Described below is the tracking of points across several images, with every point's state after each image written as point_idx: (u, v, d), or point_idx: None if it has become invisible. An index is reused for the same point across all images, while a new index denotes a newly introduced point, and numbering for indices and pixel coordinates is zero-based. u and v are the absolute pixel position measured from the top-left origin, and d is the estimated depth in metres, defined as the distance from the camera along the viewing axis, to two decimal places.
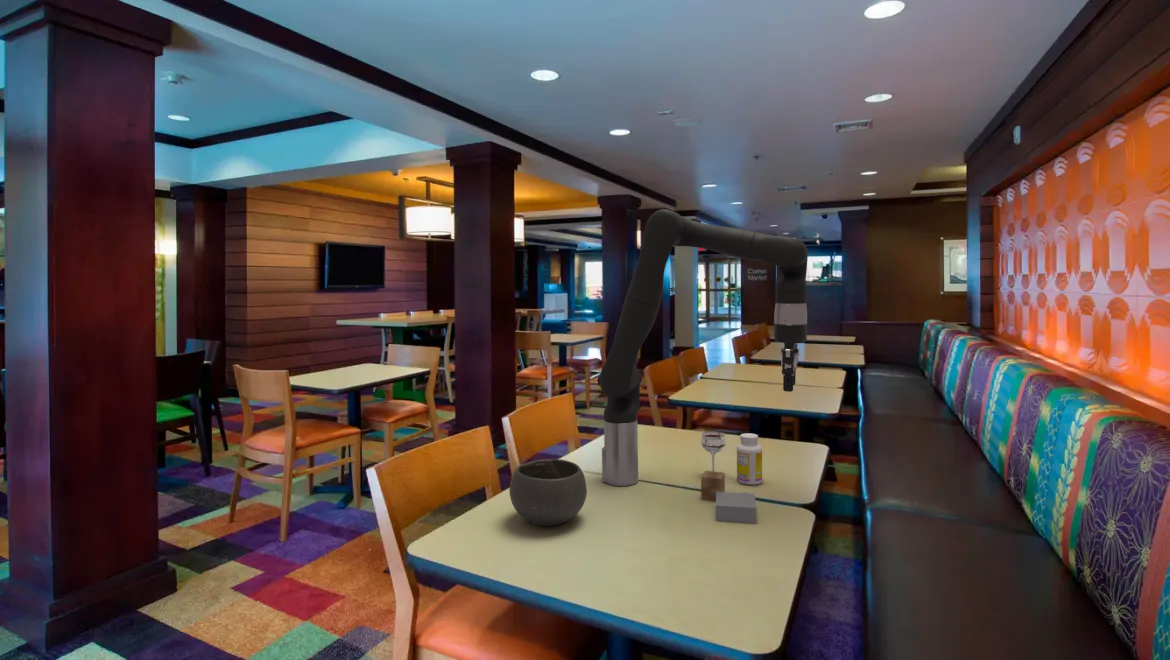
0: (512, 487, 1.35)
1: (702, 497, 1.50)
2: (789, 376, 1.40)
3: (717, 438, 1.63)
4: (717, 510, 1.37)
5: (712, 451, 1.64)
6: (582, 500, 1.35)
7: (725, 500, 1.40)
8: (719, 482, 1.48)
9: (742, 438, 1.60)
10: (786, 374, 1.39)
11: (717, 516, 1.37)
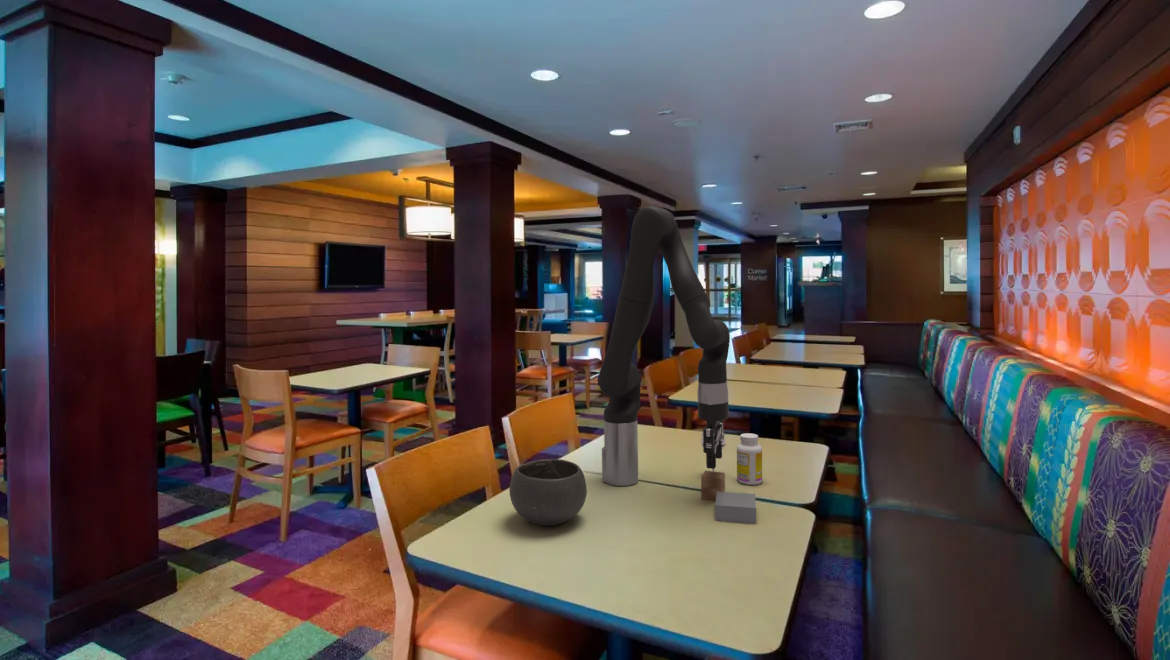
0: (512, 487, 1.35)
1: (702, 497, 1.50)
2: (711, 454, 1.45)
3: None
4: (716, 510, 1.37)
5: None
6: (582, 500, 1.35)
7: (725, 500, 1.40)
8: (719, 482, 1.48)
9: (742, 438, 1.60)
10: (708, 453, 1.44)
11: (716, 516, 1.37)
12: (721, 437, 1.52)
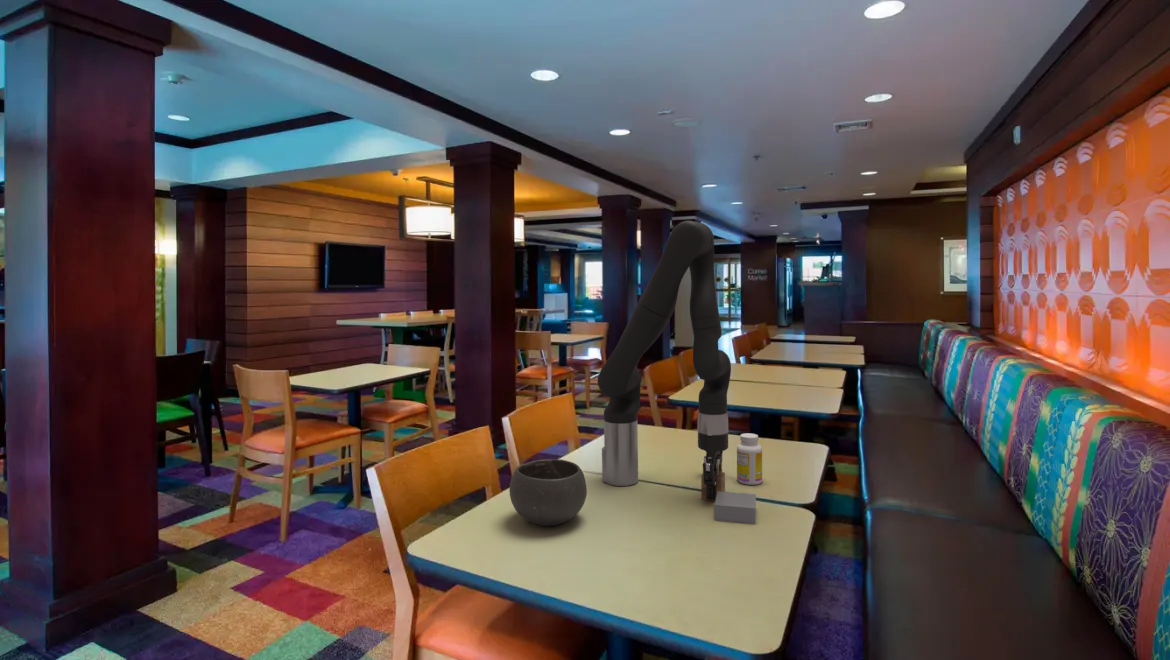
0: (512, 487, 1.35)
1: (702, 497, 1.50)
2: (711, 486, 1.47)
3: None
4: (716, 509, 1.37)
5: None
6: (582, 500, 1.35)
7: (725, 500, 1.40)
8: (719, 482, 1.48)
9: (742, 438, 1.60)
10: (708, 484, 1.47)
11: (716, 515, 1.37)
12: (720, 469, 1.52)
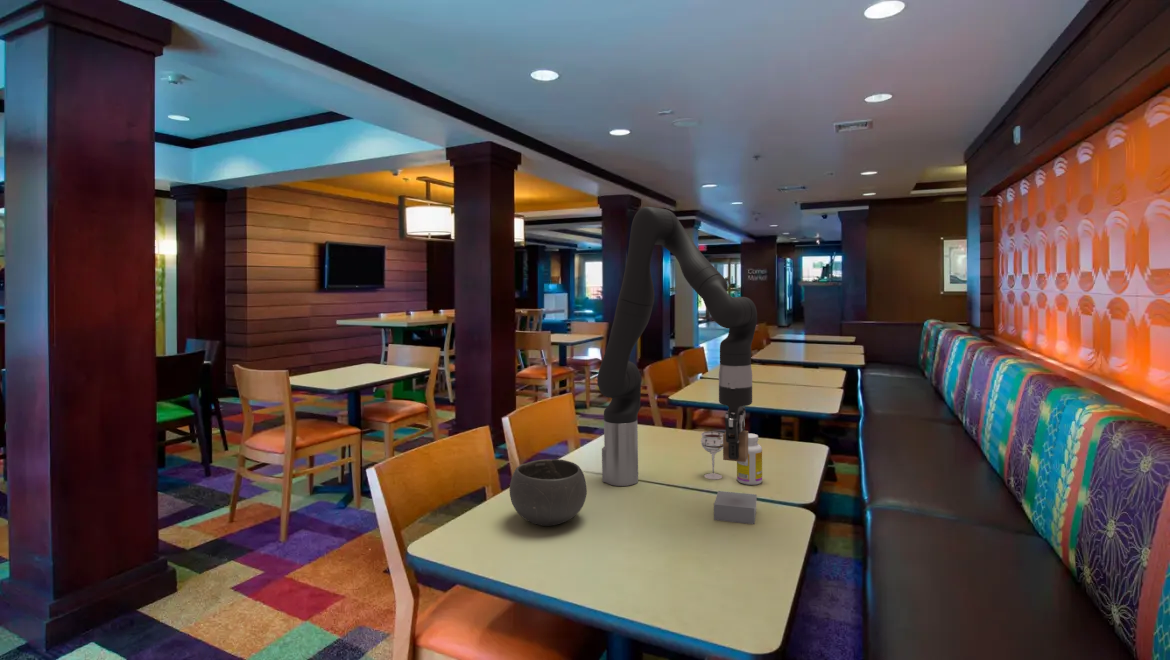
0: (512, 487, 1.35)
1: (724, 457, 1.38)
2: (734, 444, 1.35)
3: (717, 438, 1.63)
4: (715, 509, 1.37)
5: (712, 451, 1.64)
6: (582, 500, 1.35)
7: (725, 500, 1.40)
8: (743, 440, 1.36)
9: None
10: (730, 442, 1.34)
11: (715, 515, 1.37)
12: (742, 427, 1.40)
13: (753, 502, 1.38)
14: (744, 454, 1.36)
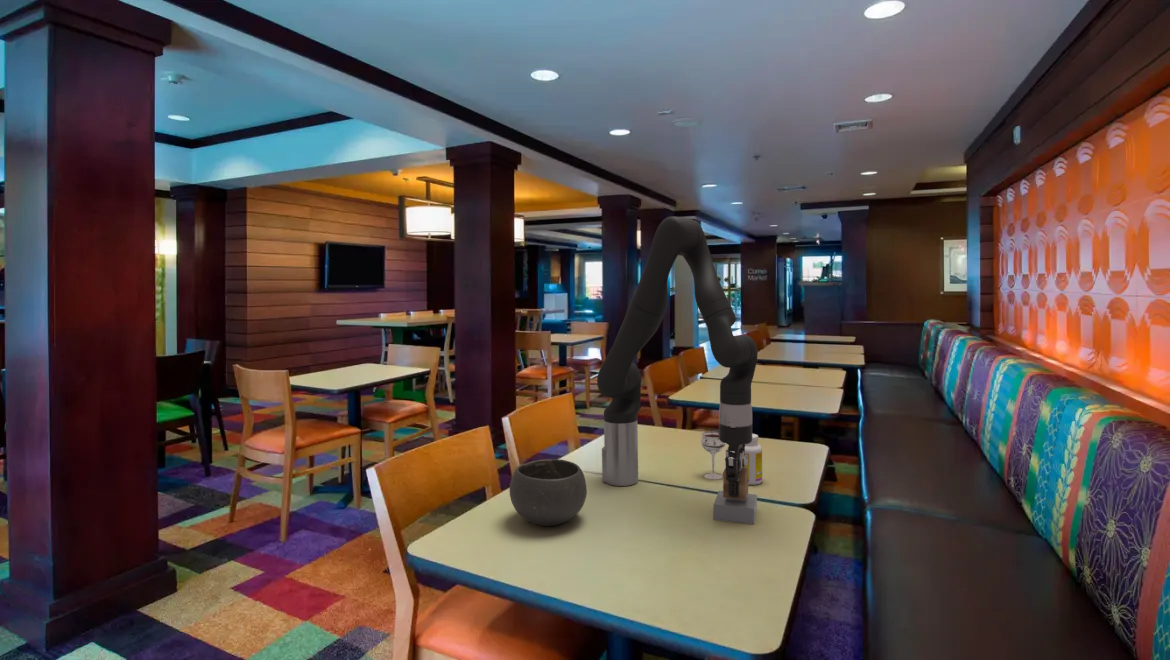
0: (512, 487, 1.35)
1: (724, 494, 1.38)
2: (734, 482, 1.36)
3: (717, 438, 1.63)
4: (715, 509, 1.37)
5: (712, 451, 1.64)
6: (582, 500, 1.35)
7: (725, 500, 1.40)
8: (743, 478, 1.36)
9: None
10: (730, 480, 1.35)
11: (715, 515, 1.38)
12: (742, 464, 1.41)
13: (753, 502, 1.38)
14: (744, 492, 1.37)
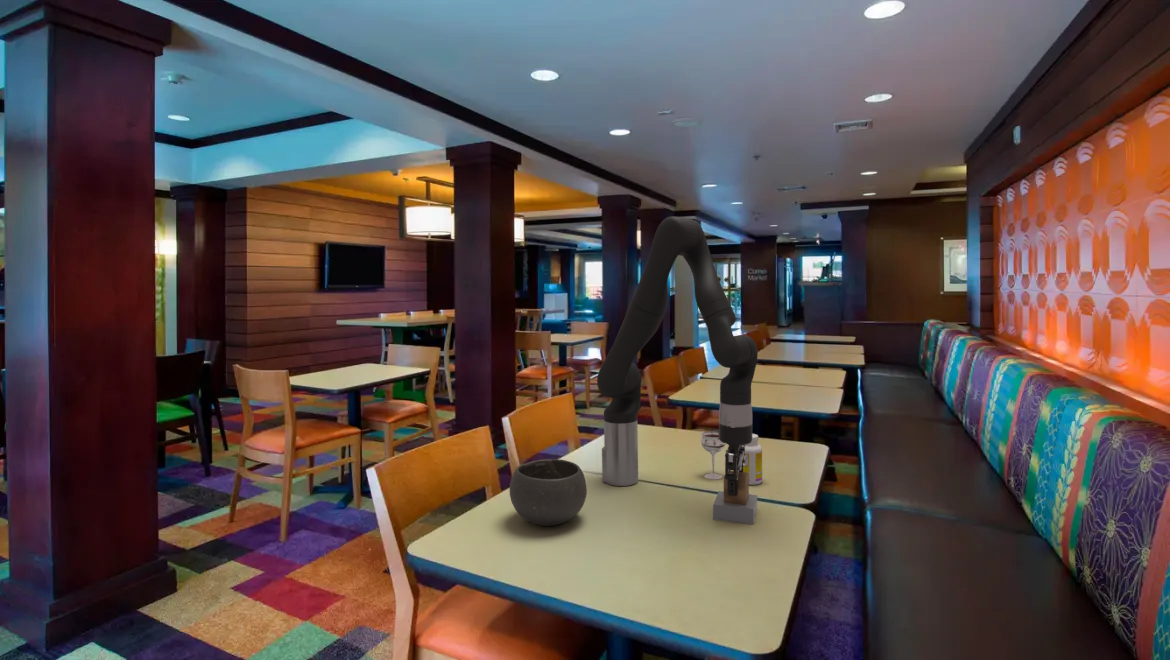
0: (512, 487, 1.35)
1: (725, 499, 1.38)
2: (733, 481, 1.34)
3: (717, 438, 1.63)
4: (714, 509, 1.38)
5: (712, 451, 1.64)
6: (582, 500, 1.35)
7: None
8: (743, 483, 1.36)
9: None
10: (729, 479, 1.34)
11: (714, 515, 1.38)
12: (743, 461, 1.41)
13: (753, 502, 1.38)
14: (745, 497, 1.37)
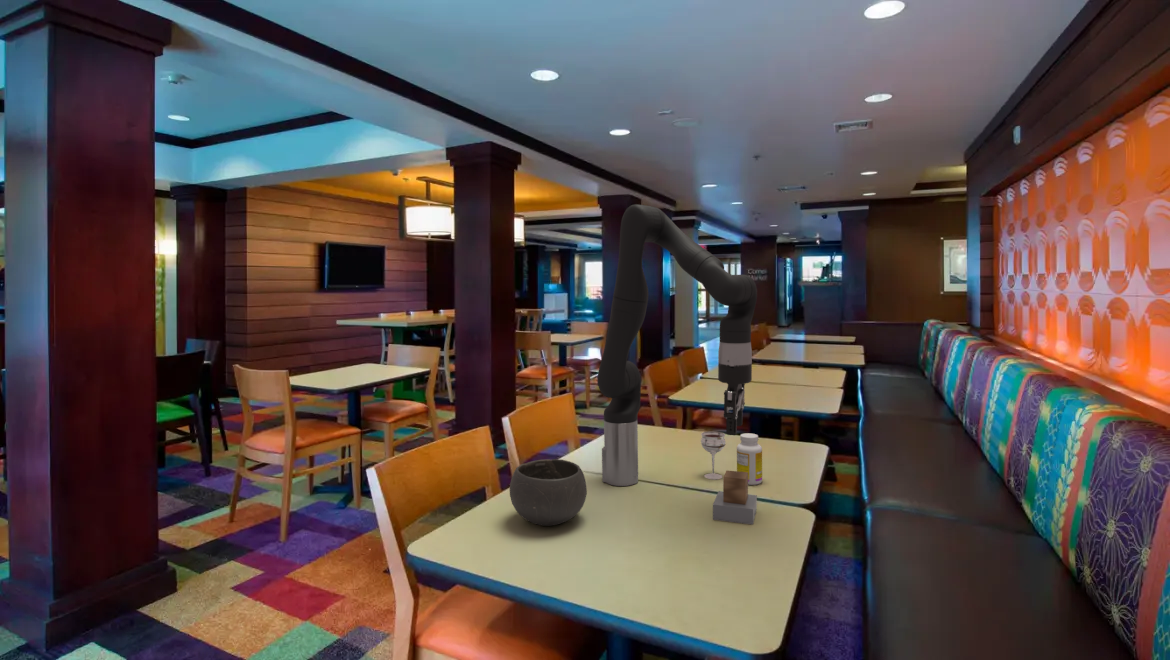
0: (512, 487, 1.35)
1: (724, 499, 1.39)
2: (732, 419, 1.34)
3: (717, 438, 1.63)
4: (714, 509, 1.37)
5: (712, 451, 1.64)
6: (582, 500, 1.35)
7: None
8: (743, 482, 1.37)
9: (742, 438, 1.60)
10: (728, 417, 1.33)
11: (714, 515, 1.38)
12: (742, 403, 1.41)
13: (752, 503, 1.38)
14: (744, 497, 1.37)
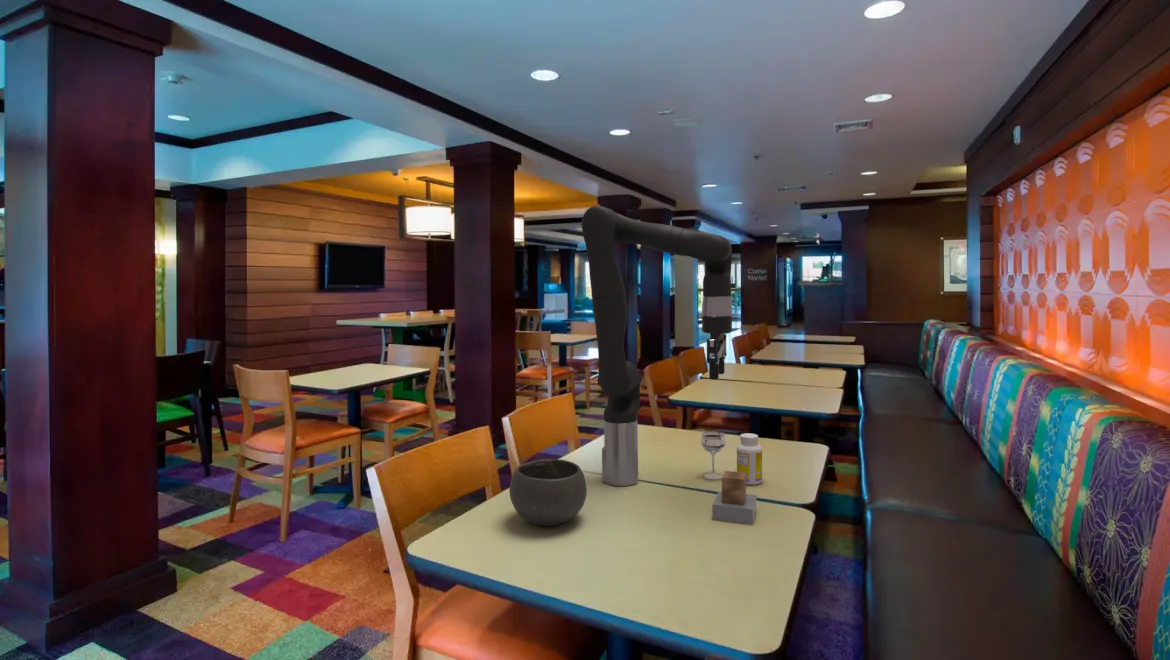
0: (512, 487, 1.35)
1: (723, 499, 1.38)
2: (714, 365, 1.49)
3: (717, 438, 1.63)
4: (714, 509, 1.37)
5: (712, 451, 1.64)
6: (582, 500, 1.35)
7: None
8: (742, 483, 1.36)
9: (742, 438, 1.60)
10: (711, 363, 1.48)
11: (714, 515, 1.38)
12: (724, 352, 1.56)
13: (752, 503, 1.38)
14: (743, 497, 1.37)
